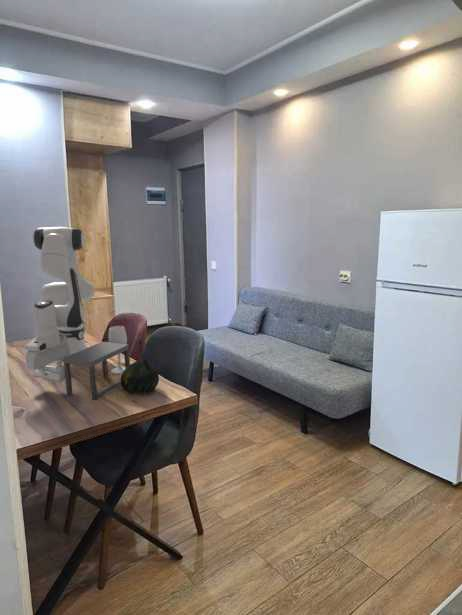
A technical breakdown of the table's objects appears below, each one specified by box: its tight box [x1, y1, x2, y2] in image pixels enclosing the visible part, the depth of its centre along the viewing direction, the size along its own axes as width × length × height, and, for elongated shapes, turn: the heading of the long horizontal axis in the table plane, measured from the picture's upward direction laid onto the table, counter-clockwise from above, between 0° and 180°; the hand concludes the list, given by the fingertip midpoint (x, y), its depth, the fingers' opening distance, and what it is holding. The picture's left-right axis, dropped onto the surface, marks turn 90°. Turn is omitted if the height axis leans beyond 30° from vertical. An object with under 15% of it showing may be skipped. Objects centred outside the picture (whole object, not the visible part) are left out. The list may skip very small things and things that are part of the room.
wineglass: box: [108, 325, 128, 375], centre depth 194 cm, size 9×9×21 cm
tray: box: [32, 365, 65, 382], centre depth 174 cm, size 14×6×5 cm, turn 68°
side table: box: [62, 341, 131, 401], centre depth 176 cm, size 14×24×16 cm, turn 158°
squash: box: [120, 358, 160, 395], centre depth 171 cm, size 14×15×15 cm
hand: (51, 372), depth 174 cm, fingers closed on tray, 6 cm apart
